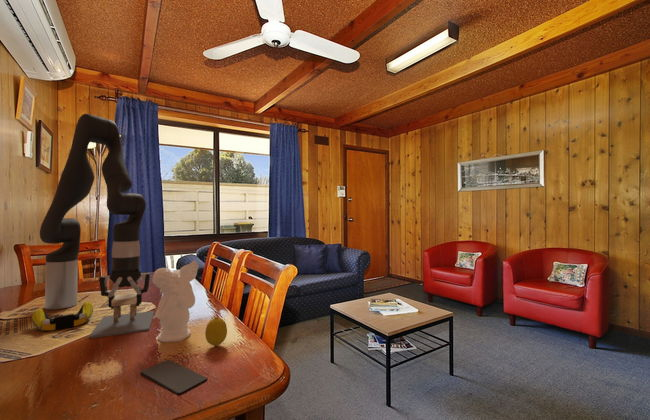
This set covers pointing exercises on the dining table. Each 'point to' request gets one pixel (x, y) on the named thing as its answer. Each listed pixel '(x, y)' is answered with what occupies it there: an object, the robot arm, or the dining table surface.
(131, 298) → the stool
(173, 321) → the cherub figurine
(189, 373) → the smartphone
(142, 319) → the mat
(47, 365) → the dining table surface
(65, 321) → the gaming controller
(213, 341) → the lemon
